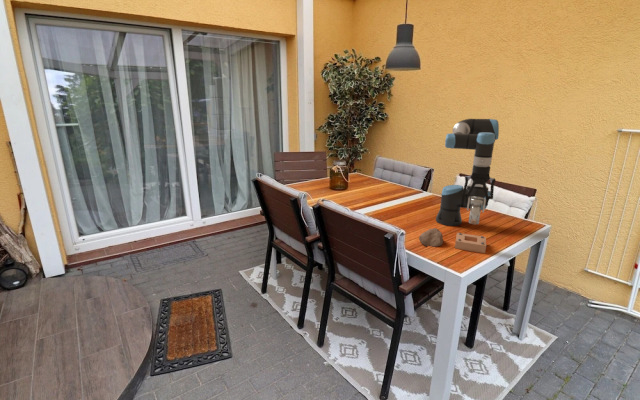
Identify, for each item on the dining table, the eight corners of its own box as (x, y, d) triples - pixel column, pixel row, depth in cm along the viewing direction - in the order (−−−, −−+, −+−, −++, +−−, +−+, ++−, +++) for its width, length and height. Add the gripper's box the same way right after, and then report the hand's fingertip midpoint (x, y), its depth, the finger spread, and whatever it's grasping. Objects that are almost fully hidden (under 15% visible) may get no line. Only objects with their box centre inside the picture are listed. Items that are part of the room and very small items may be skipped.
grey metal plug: (466, 223, 166) (469, 199, 162) (466, 219, 171) (470, 195, 168) (480, 225, 163) (484, 200, 159) (480, 221, 169) (484, 197, 165)
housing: (454, 249, 169) (455, 239, 167) (455, 241, 179) (457, 231, 178) (484, 255, 163) (486, 244, 162) (484, 245, 174) (485, 235, 172)
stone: (442, 245, 179) (436, 227, 181) (449, 243, 170) (444, 225, 172) (420, 250, 177) (415, 232, 180) (427, 248, 168) (421, 229, 171)
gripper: (459, 165, 159) (454, 210, 166) (505, 168, 151) (497, 215, 158) (460, 162, 166) (455, 206, 173) (504, 165, 158) (496, 211, 165)
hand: (475, 210), depth 165 cm, fingers closed on grey metal plug, 6 cm apart
